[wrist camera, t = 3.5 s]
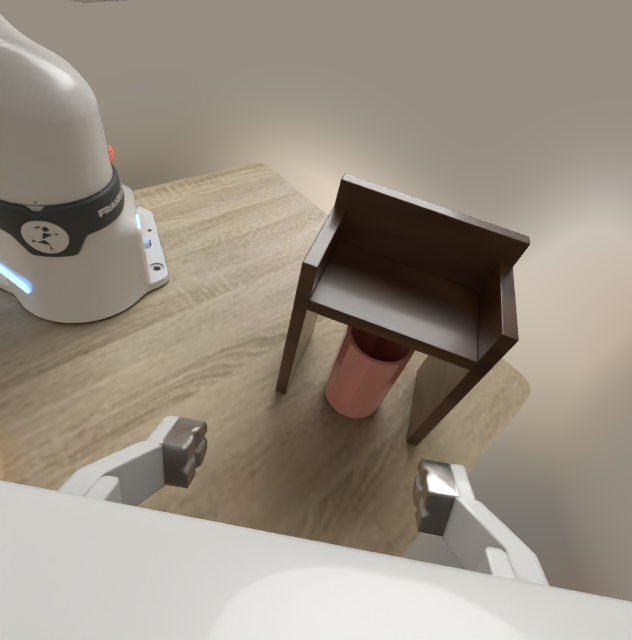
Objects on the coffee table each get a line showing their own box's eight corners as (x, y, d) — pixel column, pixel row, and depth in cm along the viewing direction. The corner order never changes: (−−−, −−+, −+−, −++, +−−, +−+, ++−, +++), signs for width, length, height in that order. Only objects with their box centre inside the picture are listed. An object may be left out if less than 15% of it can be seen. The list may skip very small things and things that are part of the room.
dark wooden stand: (416, 445, 40) (541, 317, 25) (275, 390, 42) (308, 234, 26) (426, 373, 47) (529, 236, 31) (304, 327, 48) (344, 173, 33)
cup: (319, 369, 44) (339, 310, 37) (370, 365, 46) (400, 308, 39) (332, 421, 40) (358, 368, 33) (388, 415, 42) (425, 362, 34)
